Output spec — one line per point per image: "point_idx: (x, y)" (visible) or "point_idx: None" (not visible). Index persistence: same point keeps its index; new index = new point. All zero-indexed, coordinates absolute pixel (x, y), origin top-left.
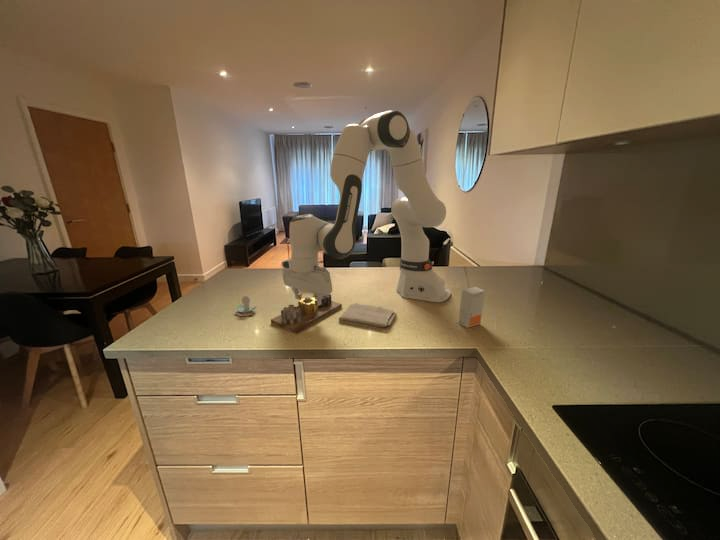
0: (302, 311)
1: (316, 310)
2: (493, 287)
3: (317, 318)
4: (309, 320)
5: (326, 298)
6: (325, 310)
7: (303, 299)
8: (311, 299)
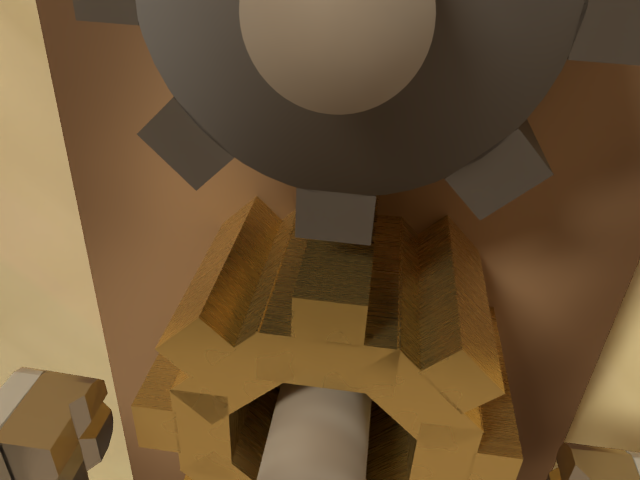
0: None
1: (499, 339)
2: None
3: (578, 389)
4: (521, 475)
5: (566, 51)
6: (594, 184)
7: (203, 438)
8: (336, 386)
